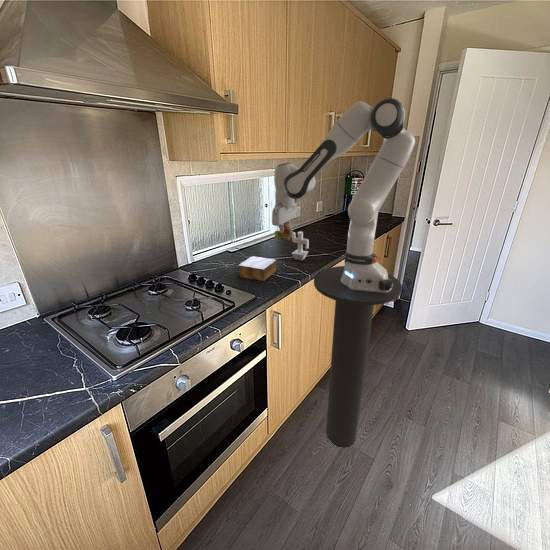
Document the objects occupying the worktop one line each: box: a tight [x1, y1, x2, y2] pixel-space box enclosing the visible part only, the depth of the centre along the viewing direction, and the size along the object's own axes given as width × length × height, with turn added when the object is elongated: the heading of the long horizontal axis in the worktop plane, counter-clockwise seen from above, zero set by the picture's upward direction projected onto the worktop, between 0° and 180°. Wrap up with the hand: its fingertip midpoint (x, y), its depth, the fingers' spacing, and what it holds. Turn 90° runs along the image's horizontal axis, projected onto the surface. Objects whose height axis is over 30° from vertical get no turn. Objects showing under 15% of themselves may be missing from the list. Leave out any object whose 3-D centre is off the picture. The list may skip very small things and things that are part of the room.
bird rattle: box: [274, 222, 294, 241], centre depth 138 cm, size 6×11×9 cm
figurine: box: [291, 231, 310, 261], centre depth 158 cm, size 7×9×15 cm
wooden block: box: [237, 255, 277, 282], centre depth 141 cm, size 14×14×6 cm
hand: (284, 230), depth 138 cm, fingers closed on bird rattle, 4 cm apart
